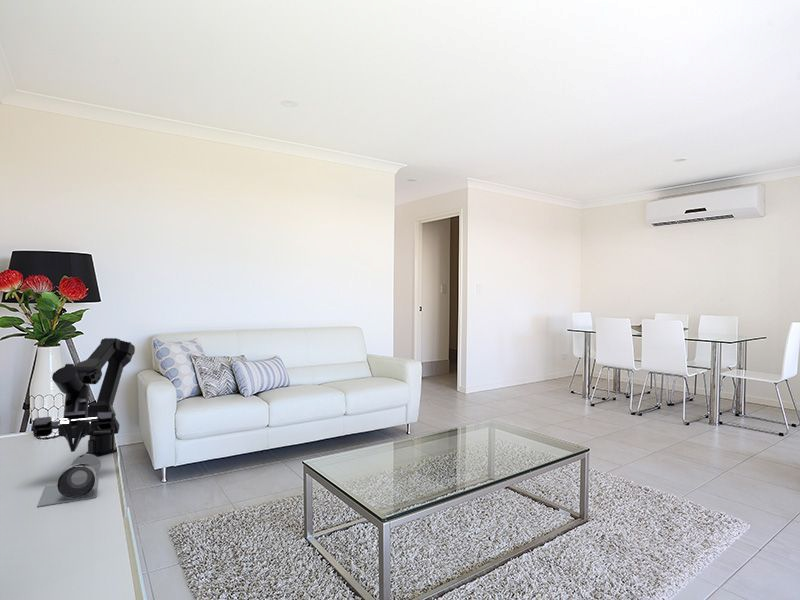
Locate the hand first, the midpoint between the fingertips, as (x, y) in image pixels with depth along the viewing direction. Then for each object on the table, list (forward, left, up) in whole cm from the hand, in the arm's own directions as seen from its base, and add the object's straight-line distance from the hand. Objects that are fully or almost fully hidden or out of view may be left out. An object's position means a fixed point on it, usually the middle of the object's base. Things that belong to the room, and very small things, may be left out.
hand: (72, 450), depth 129 cm
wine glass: (-4, 0, -6) cm, 7 cm away
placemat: (+3, +5, -9) cm, 11 cm away
